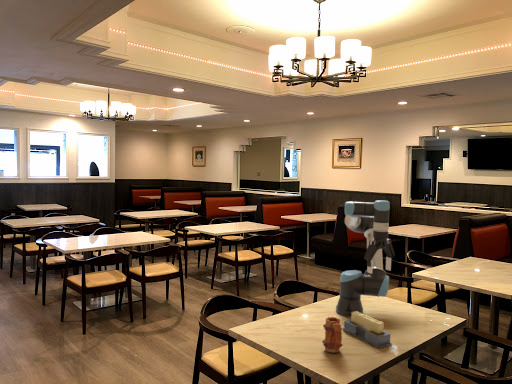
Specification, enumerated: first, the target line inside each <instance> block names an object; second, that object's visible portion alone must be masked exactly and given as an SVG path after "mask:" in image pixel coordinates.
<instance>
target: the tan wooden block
mask: <svg viewBox="0 0 512 384" xmlns="http://www.w3.org/2000/svg"><path fill="white" fill-rule="evenodd" d="M350 317H351V318H350V320H351V323H353V324H355V325H359V326H361V327H363V328H365V329H367V330H369V331H372V333H374V334H376V335H382V334H383V331H385V330H384V329H385V328H384V326H385V322H383V321H381V320H378V319H376V318H374V317H371V316H370V315H367V314H365V313H363V314H362V313H360V312H358V311H354V312H351V316H350Z"/></svg>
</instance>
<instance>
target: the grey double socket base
mask: <svg viewBox="0 0 512 384" xmlns="http://www.w3.org/2000/svg"><path fill="white" fill-rule="evenodd" d="M343 326H344V327H343V328H342V331H343V332H345V333H348V334H350V335H351V336H353V337H356V338H357V339H359V340H361V341H363V342H366V343H367V344H369V345H371V346H372V347H375V348H377V349H379V350H381V349H383V348H387V347H391V346H392V342H391V333H390V332H387V331H385V330H384V331H383V334H382V335H376V334H374V333H372V331H369V330H367V329H365V328H363V327H361V326H359V325H355V324H353V323H351V319H348V320H344V325H343Z"/></svg>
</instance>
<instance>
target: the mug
mask: <svg viewBox="0 0 512 384" xmlns="http://www.w3.org/2000/svg"><path fill="white" fill-rule="evenodd" d="M323 330H325V331H324V332H325V333H324V334H325V335H324V339H323V340H321V341H322V345H323V346H324V350H325V351H326V352H328V353H339V352H340V349H341V348H342V347H343V343H342V341H343V340H342V338H343V335H342V331H343V328H342V325H341V321H340V319H339V318H337V317H336V316H335V317H334V316H331V317H329V316H328V317H326V318H325V324H323Z"/></svg>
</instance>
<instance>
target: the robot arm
mask: <svg viewBox="0 0 512 384" xmlns="http://www.w3.org/2000/svg"><path fill="white" fill-rule="evenodd" d="M390 205H391V204H390V201H388V200H386V199H385V200H381V199H380V200H375V201H374V202H366V201H365V202H364V201H352V200H351V201H346V202H345V203H344V215H345V217H344V224H345V227H346V228H347V229H348V230H351V231H353V232H355V233H360V234H363V235H364V237H365V238H366V252H365V254H364V256H363V259H364V260H366V266H367V269H366V270H365V272H364V273H362V271H361V270H357V269H353V270H351V269H350V270H345V271H343V272H341V274H340V277H339V278H340V279H339V282H340V283H339V298H338V301H337V304H336V306H335V311H336V313H337V314H339V315H341V316H345V317H351V312H354V311H358V312H360V313H362V314H364V308H363V304H362V303H363V302H362V300H361V297H362V296H368V297H377V298H378V297H382V298H383V297H386V296H387V295H388V293H389V286H390V276H389V275H387V271H392V270H391V269H392V263H393V262H392V259H394V257H395V255H396V254H395V251H394V248H393V247H394V246H393V244H392V239H391V238H389V233H390V232H389V227H390V226H389V225H390V224H389V223H390V209H391V207H390ZM383 251H384V253H385V255H386V257H385V270H386V271H385V270H384V264H383V261H384V260H383Z"/></svg>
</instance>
